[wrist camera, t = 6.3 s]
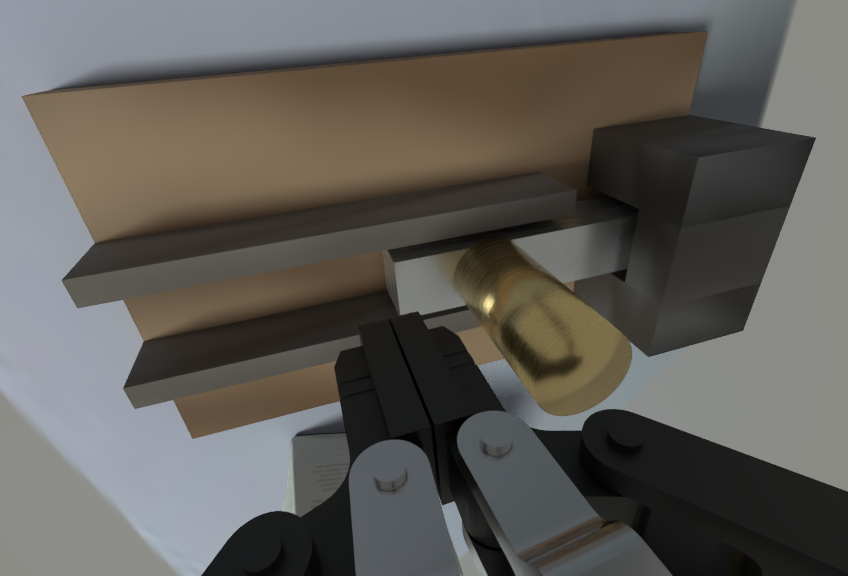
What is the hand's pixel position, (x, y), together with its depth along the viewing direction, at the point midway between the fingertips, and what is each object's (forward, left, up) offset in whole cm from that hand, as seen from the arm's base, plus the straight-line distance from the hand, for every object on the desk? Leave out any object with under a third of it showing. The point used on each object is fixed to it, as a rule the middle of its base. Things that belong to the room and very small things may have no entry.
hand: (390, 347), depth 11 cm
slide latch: (0, +6, -4) cm, 8 cm away
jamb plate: (0, +3, -6) cm, 7 cm away
